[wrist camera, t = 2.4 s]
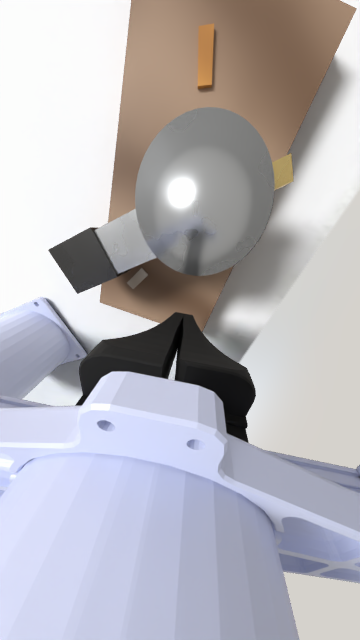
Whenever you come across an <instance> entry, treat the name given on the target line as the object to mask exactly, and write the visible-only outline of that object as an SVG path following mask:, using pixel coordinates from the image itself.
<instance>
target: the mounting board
mask: <svg viewBox="0 0 360 640" xmlns="http://www.w3.org/2000/svg"><path fill="white" fill-rule="evenodd" d="M355 11H356V8H354V7H352V6H350V5H348V4H346V3H344V2H342V1H340V0H131V9H130V19H129V28H128V38H127V47H126V57H125V66H124V76H123V85H122V95H121V105H120V114H119V124H118V133H117V143H116V152H115V162H114V171H113V181H112V190H111V200H110V210H109V219H108V223H109V222H111V221H113V220H115V219H117V218H119V217H121V216H122V215H124V214H126V213H128V212H130V211H132V210H134V209H136V208H135V189H136V181H137V176H138V172H139V168H140V165H141V162H142V160H143V157H144V155H145V153H146V151H147V149H148V147H149V146H150V144H151V142H152V141H153V140H154V138H155V137H156V136H157V134H158V133H159V132H160V131H161V130H162V129H163V128H164V127H165V126H166V125H167V124H168V123H169V122H171V121H172V120H173V119H175V118H176V117H178V116H180V115H182V114H184V113H185V112H188V111H191V110H194V109H198V108H205V107H216V108H222V109H226V110H230V111H232V112H234V113H236V114H238V115H240V116H241V117H243V118H244V119H246V120H247V121H248V122H249V123H250V124H251V125H252V126H253V127H254V128H255V129H256V130H257V131H258V133H259V134H260V136H261V137H262V139H263V140H264V142H265V144H266V146H267V148H268V151H269V154H270V157H271V160H272V162H274V161H276V160H278V159H280V158H282V157H284V156H286V155H287V153H288V151H289V149H290V147H291V145H292V143H293V141H294V139H295V137H296V134H297V132H298V130H299V128H300V126H301V124H302V122H303V120H304V118H305V116H306V114H307V111H308V109H309V107H310V105H311V103H312V101H313V99H314V97H315V95H316V93H317V91H318V88H319V86H320V84H321V82H322V80H323V78H324V76H325V74H326V72H327V70H328V67H329V65H330V63H331V61H332V59H333V57H334V55H335V53H336V51H337V49H338V47H339V44H340V42H341V40H342V38H343V36H344V34H345V32H346V30H347V28H348V26H349V24H350V21H351V19H352V17H353V15H354V13H355ZM233 266H234V265H233ZM233 266H232V267H230V268H228V269H226V270H224V271H222V272H219V273H216V274H212V275H206V276H194V275H187V274H183V273H180V272H178V271H175V270H173V269H172V268H170V267H168V266H167V265H165V264H164V263H163V262H161V261H160V260H159V259H158V258H154V259H152V260H150V261H147V262H145V263H142V264H140V265H138V266H135V267H133V268H131V269H132V270H130V271H128V272H126V273H124V274H122V275H120V276H119V277H117V278H114V279H112V280H109V281H107V282H104V283H102V286H101V295H100V303H103V304H106V305H109V306H112V307H115V308H118V309H120V310H123V311H126V312H129V313H132V314H135V315H138V316H141V317H143V318H146V319H149V320H152V321H155V322H158V323H162V322H163V321H165V320H166V319H167V318H169V317H170V316H171V315H172V314H173V313H175V312H179V313H184V314H190V315H193V316H194V319H195V321H196V323H197V325H198V327H199V328H200V330H201V332H202V331H203V329H204V327H205V325H206V323H207V321H208V319H209V317H210V315H211V312H212V310H213V308H214V306H215V304H216V302H217V300H218V298H219V296H220V294H221V291H222V289H223V287H224V285H225V283H226V281H227V279H228V277H229V275H230V273H231V271H232V268H233Z"/></svg>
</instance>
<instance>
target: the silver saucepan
mask: <svg viewBox="0 0 360 640" xmlns="http://www.w3.org/2000/svg"><path fill="white" fill-rule="evenodd" d="M291 182H293V168H292V156H291V153H290V154H288V155H286V156H284V157H282V158H280V159H278V160H276V161H274V162H272V160H271V157H270V154H269V151H268V148H267V146H266V144H265V142H264V140H263V139H262V137H261V136H260V134H259V133H258V131H257V130H256V129H255V128H254V127H253V126H252V125H251V124H250V123H249V122H248V121H247V120H246V119H244V118H243V117H241V116H240V115H238V114H236V113H234V112H232V111H230V110H226V109H222V108H216V107H205V108H198V109H194V110H191V111H188V112H185V113H184V114H182V115H180V116H178V117H176V118H175V119H173V120H172V121H171V122H169V123H168V124H167V125H166V126H165V127H164V128H163V129H162V130H161V131H160V132H159V133H158V134H157V136H156V137H155V138H154V140H153V141H152V142H151V144H150V146H149V147H148V149H147V151H146V153H145V155H144V157H143V160H142V162H141V165H140V168H139V172H138V176H137V181H136V189H135V208H136V209H134V210H132V211H130V212H128V213H126V214H124V215H122V216H121V217H119V218H117V219H115V220H113V221H111V222H109V223H107V224H105V225H103V226H102V227H100V228H89V229H87V230H85V231H83V232H81V233H79V234H77V235H75V236H74V237H72V238H70V239H68V240H66V241H64V242H62V243H60V244H59V245H57V246H55V247H53V248H51V249H49V252H50V253H51V255H52V256H53V258H54V259H55V261H56V262H57V264H58V265H59V267H60V268H61V270H62V271H63V273H64V274H65V276H66V277H67V279H68V280H69V282H70V283H71V285H72V286H73V288H74V289H75V291H76V292H77V294H78V293H80V292H83V291H85V290H88V289H90V288H92V287H95V286H97V285H100V284H102V283H104V282H107V281H109V280H112V279H114V278H117V277H119V276H120V275H122V274H124V273H126V272H128V271H130V270H132V269H131V268H133V267H135V266H138V265H140V264H142V263H145V262H147V261H150V260H152V259H154V258H158V259H159V260H160V261H161V262H163V263H164V264H165V265H167V266H168V267H170V268H172V269H173V270H175V271H178V272H180V273H183V274H187V275H194V276H206V275H212V274H216V273H219V272H222V271H224V270H226V269H228V268H230V267H232V266H233V265H235V264H236V263H238V262H239V261H240V260H242V259H243V258H244V257H245V256H246V255H247V254H248V253H249V252H250V251H251V249H252V248H253V247H254V246H255V244H256V243H257V242H258V240H259V239H260V237H261V235H262V233H263V231H264V229H265V227H266V225H267V222H268V220H269V217H270V213H271V210H272V206H273V200H274V191H275V190H277V189H279V188H282V187H284V186H286V185H287V184H289V183H291Z"/></svg>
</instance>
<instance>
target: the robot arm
mask: <svg viewBox="0 0 360 640" xmlns="http://www.w3.org/2000/svg"><path fill="white" fill-rule="evenodd" d="M176 352H177V361H176V374H175V381H174V380H169V379H168V376H169V373H170V370H171V367H172V364H173V361H174V358H175V355H176ZM86 355H87V353H86V352H85V350H84V349H83V348H82V346H81V345H80V344H79V342H78V341H77V340H76V338H75V337H74V336H73V334H72V333H71V332H70V331H69V329H68V328H67V327H66V325H65V324H64V323H63V321H62V320H61V319H60V317H59V316H58V315H57V313H56V312H55V311H54V310H53V308H52V307H51V306H50V304H49V303H48V302H47V300H46V299H45V298H43V297H39V298H37V299H34V300H32V301H30V302H27V303H25V304H23V305H21V306H18V307H16V308H14V309H12V310H9V311H7V312H5V313H3V314H0V640H299V636H298V632H297V629H296V624H295V620H294V616H293V611H292V607H291V603H290V599H289V595H288V590H287V586H286V582H285V578H284V574H283V572H289V573H296V574H303V575H309V576H316V577H323V578H330V579H337V580H343V581H349V582H355V583H360V465H359V466H358V467H357V469H353V468H348V467H343V466H338V465H333V464H328V463H324V462H319V461H314V460H309V459H304V458H299V457H295V456H290V455H285V454H280V453H276V452H271V451H266V450H263V449H260V448H258V447H256V446H254V445H252V444H249V443H248V438H247V434H246V429H245V428H247V420H246V415H247V413H248V411H249V409H250V407H251V406H252V404H253V402H254V399H255V396H256V395H255V388H254V385H253V382H252V379H251V377H250V374H249V372H248V370H247V368H246V367H244V366H242V365H241V364H239V363H237V362H235V361H233V360H232V359H230V358H229V357H227V356H226V355H224V354H223V353H222V352H220V351H219V350H218V349H217V348H216V347H215V346H213V345H212V344H211V343H210V342H209V341H208V339H207V338H206V337H205V336H204V335H203V333H202V332H201V330H200V328H199V327H198V325H197V323H196V321H195V319H194V316H193V315H190V314H184V313H179V312H175V313H173V314H172V315H171V316H170V317H169V318H167V319H166V320H165V321H163V322H162V323H160V324H159V325H157V326H156V327H154V328H152V329H149V330H147V331H144V332H141V333H138V334H135V335H132V336H127V337H122V338H116V339H108V340H102V341H101V342H100V343H99V344H98V345H97V346H96V347H95V348H94V349H93V350H92V351H91V352H90V353H89V354H88V355H87V356H86ZM85 357H86V358H85ZM82 358H85V359H84V360H83V361H82V362H81V364H80V367H79V375H80V381H81V386H82V391H83V396H82V397H81V398H80V400H79V401H78V403H77V404H76V405H75V406H51V405H46V404H41V403H36V402H31V401H27V400H22V399H23V398H24V397H25V396H26V395H27V394H28V393H29V392H30V391H31V390H33V389H34V388H35V387H36V386H37V385H38V384H39V383H40V382H41V381H42V380H43V379H44V378H45V377H47V376H48V375H49V374H50V373H51V372H52V371H53V370H54V369H55V368H56V367H57V366H58V365H61V364H64V363H68V362H71V361H75V360H78V359H82Z"/></svg>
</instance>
